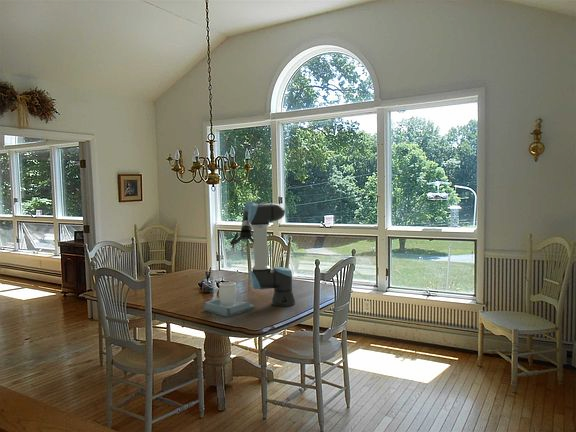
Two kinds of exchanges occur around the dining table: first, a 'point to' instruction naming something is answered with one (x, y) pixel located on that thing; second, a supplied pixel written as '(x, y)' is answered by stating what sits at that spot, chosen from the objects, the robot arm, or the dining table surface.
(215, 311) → the tray
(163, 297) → the dining table surface
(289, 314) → the dining table surface
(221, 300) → the jar
